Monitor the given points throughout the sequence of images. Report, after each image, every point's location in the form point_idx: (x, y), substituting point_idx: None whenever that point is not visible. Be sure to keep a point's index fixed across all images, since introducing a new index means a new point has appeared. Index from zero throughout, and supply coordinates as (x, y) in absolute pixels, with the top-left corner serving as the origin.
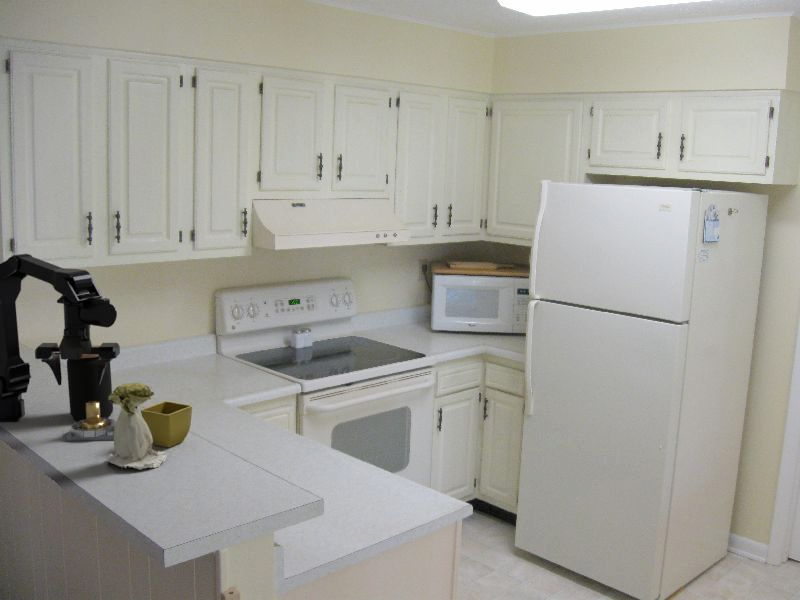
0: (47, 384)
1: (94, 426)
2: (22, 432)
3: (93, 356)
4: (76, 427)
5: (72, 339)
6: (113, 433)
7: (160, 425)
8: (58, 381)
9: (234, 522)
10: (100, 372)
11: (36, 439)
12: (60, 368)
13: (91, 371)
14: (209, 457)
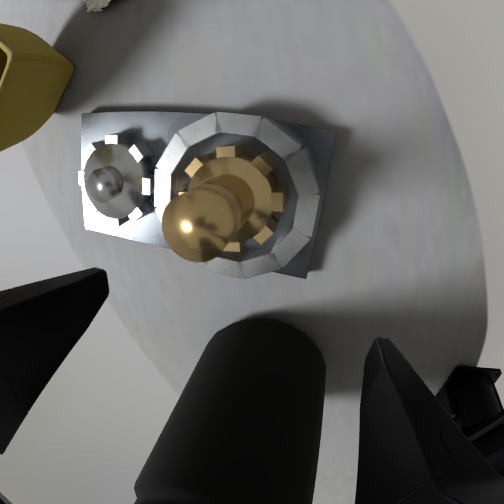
0: (351, 498)
1: (218, 147)
2: (466, 277)
3: None
4: (296, 174)
5: None
6: (167, 140)
7: (14, 31)
8: (392, 356)
9: None
10: (14, 293)
11: (436, 189)
12: (360, 482)
13: (195, 459)
14: (12, 14)
